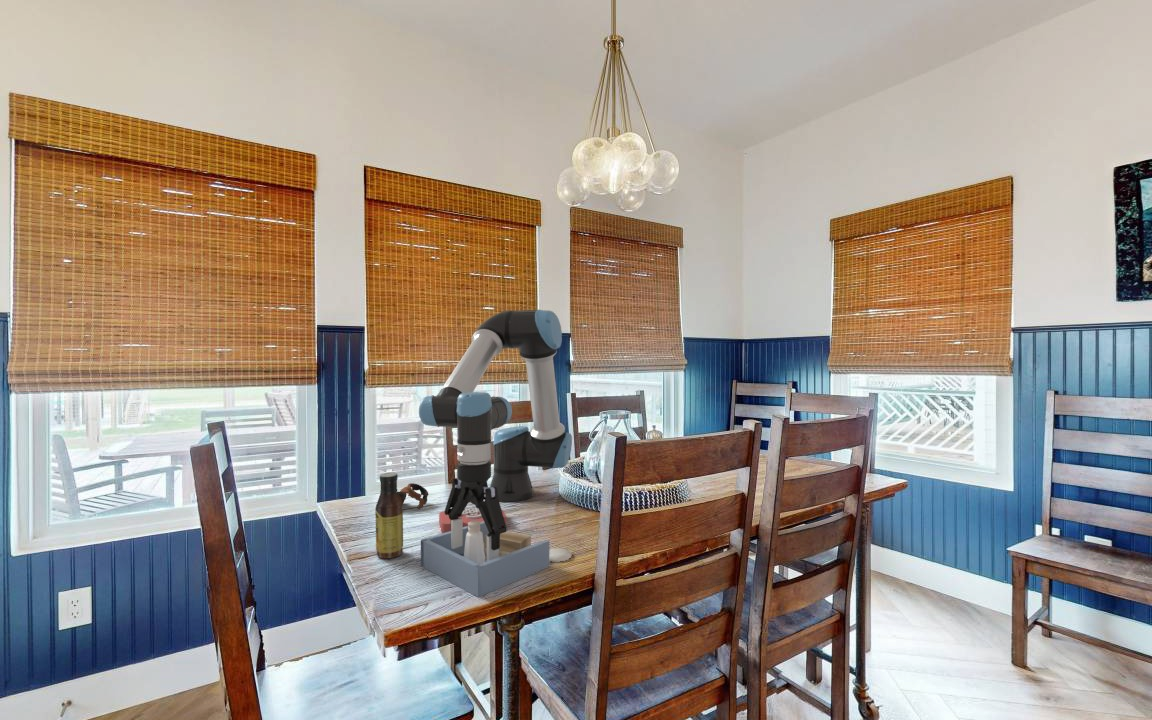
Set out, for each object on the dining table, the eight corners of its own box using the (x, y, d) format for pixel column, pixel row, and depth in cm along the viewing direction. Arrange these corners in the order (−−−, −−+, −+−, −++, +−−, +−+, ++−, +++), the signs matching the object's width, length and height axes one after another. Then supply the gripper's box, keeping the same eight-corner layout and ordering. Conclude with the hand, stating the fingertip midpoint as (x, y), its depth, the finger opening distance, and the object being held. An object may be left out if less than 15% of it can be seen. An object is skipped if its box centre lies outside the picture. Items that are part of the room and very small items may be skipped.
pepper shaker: (457, 573, 115) (457, 524, 115) (470, 563, 120) (470, 517, 120) (478, 577, 113) (478, 527, 113) (490, 567, 118) (490, 519, 118)
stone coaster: (557, 548, 130) (557, 546, 130) (577, 556, 125) (577, 553, 125) (536, 556, 125) (536, 554, 125) (557, 564, 120) (557, 562, 120)
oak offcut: (496, 540, 128) (495, 529, 128) (530, 547, 124) (530, 536, 124) (484, 547, 124) (484, 536, 124) (520, 554, 119) (520, 542, 119)
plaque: (443, 526, 136) (438, 509, 150) (443, 540, 136) (438, 522, 150) (509, 518, 142) (499, 503, 156) (509, 532, 142) (499, 516, 156)
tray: (490, 542, 134) (490, 519, 134) (549, 566, 119) (549, 541, 119) (420, 565, 119) (420, 539, 119) (478, 597, 104) (478, 567, 104)
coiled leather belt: (407, 502, 170) (419, 481, 170) (424, 519, 165) (437, 497, 165) (378, 502, 160) (392, 479, 159) (396, 521, 155) (409, 497, 155)
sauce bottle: (382, 549, 129) (381, 470, 128) (407, 550, 128) (406, 470, 128) (371, 560, 122) (370, 476, 122) (397, 560, 122) (396, 477, 121)
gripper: (429, 455, 122) (429, 544, 122) (495, 473, 105) (495, 576, 105) (456, 451, 127) (456, 536, 128) (523, 467, 110) (523, 565, 111)
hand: (474, 555), depth 117 cm, fingers open, 13 cm apart
